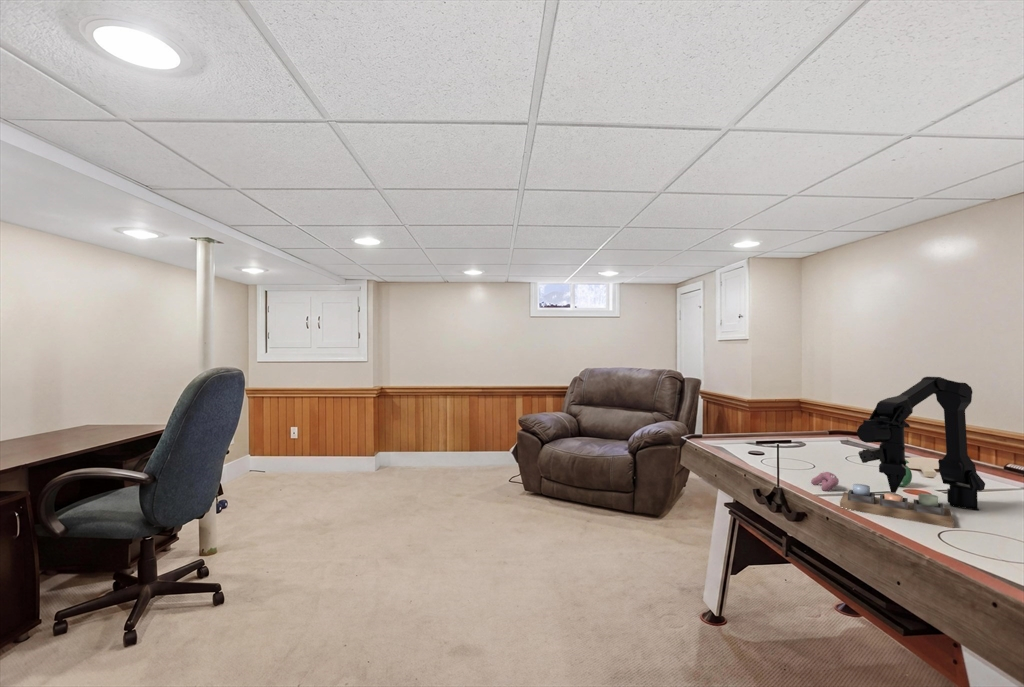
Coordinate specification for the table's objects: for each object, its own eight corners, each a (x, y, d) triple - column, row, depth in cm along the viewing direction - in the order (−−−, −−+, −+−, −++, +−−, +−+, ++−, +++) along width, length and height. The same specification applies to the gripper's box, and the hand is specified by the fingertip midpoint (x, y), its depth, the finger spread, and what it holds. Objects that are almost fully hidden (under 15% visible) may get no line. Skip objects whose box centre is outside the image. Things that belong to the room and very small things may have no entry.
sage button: (937, 505, 140) (937, 495, 140) (938, 509, 136) (938, 498, 136) (918, 502, 142) (918, 492, 143) (918, 505, 139) (918, 495, 139)
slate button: (870, 494, 150) (870, 485, 150) (869, 498, 147) (869, 488, 147) (853, 492, 153) (853, 483, 153) (852, 495, 149) (852, 485, 150)
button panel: (949, 515, 141) (949, 501, 142) (953, 527, 131) (953, 513, 131) (844, 498, 158) (844, 486, 158) (840, 508, 147) (839, 495, 148)
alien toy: (882, 485, 175) (882, 458, 176) (894, 482, 178) (893, 456, 179) (904, 489, 169) (904, 462, 169) (916, 487, 172) (915, 460, 172)
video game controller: (834, 496, 165) (843, 479, 165) (821, 490, 166) (830, 472, 166) (821, 488, 175) (830, 472, 175) (809, 482, 176) (818, 466, 176)
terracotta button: (903, 504, 145) (902, 495, 145) (902, 508, 141) (902, 498, 141) (884, 502, 148) (884, 492, 148) (884, 505, 144) (884, 495, 144)
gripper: (862, 435, 157) (862, 482, 157) (857, 442, 143) (858, 494, 143) (905, 439, 150) (906, 488, 150) (905, 447, 136) (906, 501, 135)
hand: (893, 492), depth 145 cm, fingers closed
